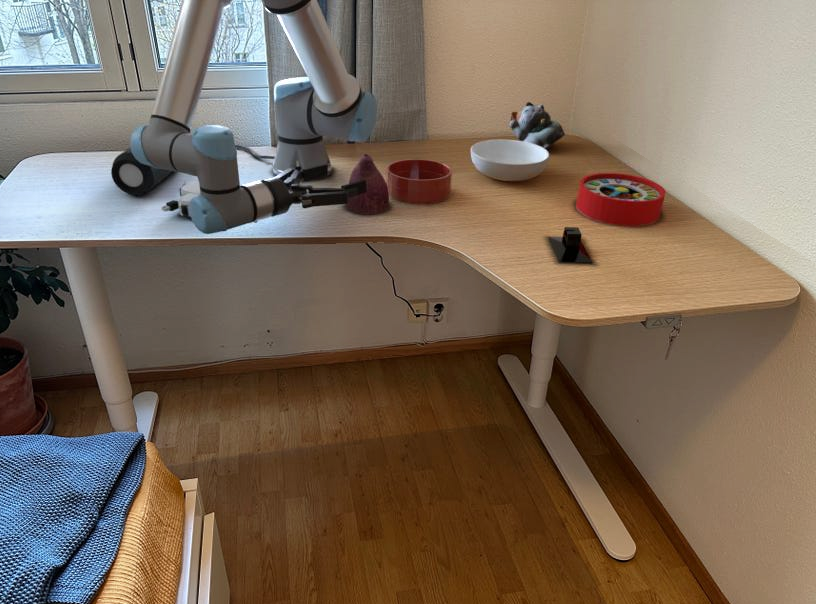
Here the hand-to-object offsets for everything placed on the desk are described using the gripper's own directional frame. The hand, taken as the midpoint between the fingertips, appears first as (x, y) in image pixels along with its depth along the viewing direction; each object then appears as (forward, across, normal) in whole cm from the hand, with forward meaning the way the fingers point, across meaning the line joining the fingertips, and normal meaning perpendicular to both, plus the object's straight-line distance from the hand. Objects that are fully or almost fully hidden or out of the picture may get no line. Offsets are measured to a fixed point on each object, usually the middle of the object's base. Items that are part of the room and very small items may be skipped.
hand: (345, 177), depth 148 cm
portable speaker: (-24, -47, -9) cm, 53 cm away
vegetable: (+7, 0, -9) cm, 11 cm away
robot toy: (-25, -23, -9) cm, 35 cm away
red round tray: (+22, +1, -8) cm, 24 cm away
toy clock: (+53, +40, -8) cm, 67 cm away
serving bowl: (+50, +7, -8) cm, 52 cm away
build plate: (+24, +46, -9) cm, 52 cm away
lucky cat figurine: (+78, -5, -9) cm, 79 cm away
